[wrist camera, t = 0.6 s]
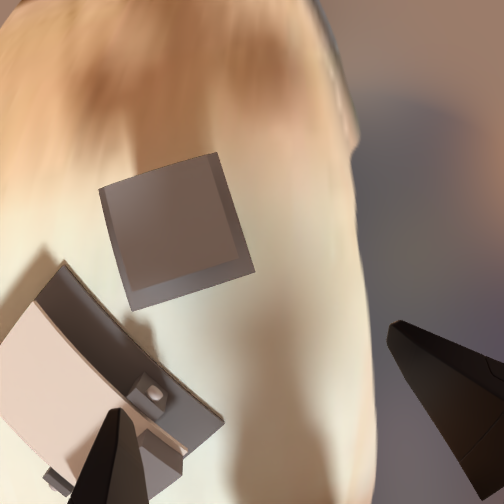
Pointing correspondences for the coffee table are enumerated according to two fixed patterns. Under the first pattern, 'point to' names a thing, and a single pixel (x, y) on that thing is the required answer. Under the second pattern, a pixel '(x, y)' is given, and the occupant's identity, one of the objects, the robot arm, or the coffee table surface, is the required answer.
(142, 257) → the stone pillar
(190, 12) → the coffee table surface
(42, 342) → the trapdoor flap
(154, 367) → the stand
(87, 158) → the coffee table surface
